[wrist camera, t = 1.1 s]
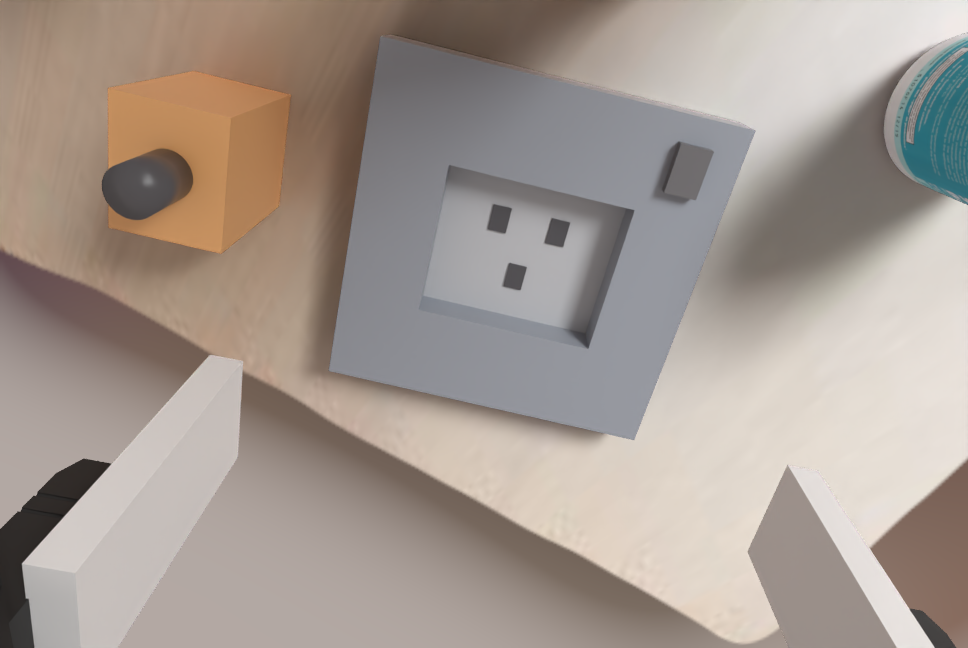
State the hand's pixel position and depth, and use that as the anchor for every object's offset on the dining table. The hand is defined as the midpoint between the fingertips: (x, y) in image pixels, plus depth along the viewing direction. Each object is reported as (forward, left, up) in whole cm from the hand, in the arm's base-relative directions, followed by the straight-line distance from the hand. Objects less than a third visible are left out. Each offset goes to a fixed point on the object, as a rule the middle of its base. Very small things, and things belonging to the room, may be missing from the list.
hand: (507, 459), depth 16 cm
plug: (0, -15, -23) cm, 27 cm away
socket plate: (+2, +1, -23) cm, 23 cm away
